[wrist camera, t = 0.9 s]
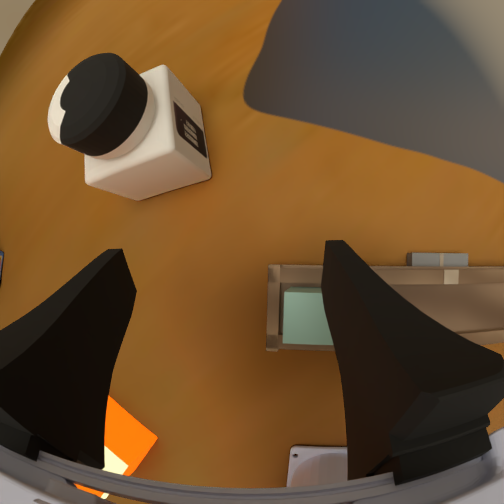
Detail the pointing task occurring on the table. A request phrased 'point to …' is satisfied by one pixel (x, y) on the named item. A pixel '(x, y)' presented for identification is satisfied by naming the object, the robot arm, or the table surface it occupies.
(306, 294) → the block
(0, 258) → the ink cartridge box
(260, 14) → the table surface
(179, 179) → the container
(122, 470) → the orange juice
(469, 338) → the beam
